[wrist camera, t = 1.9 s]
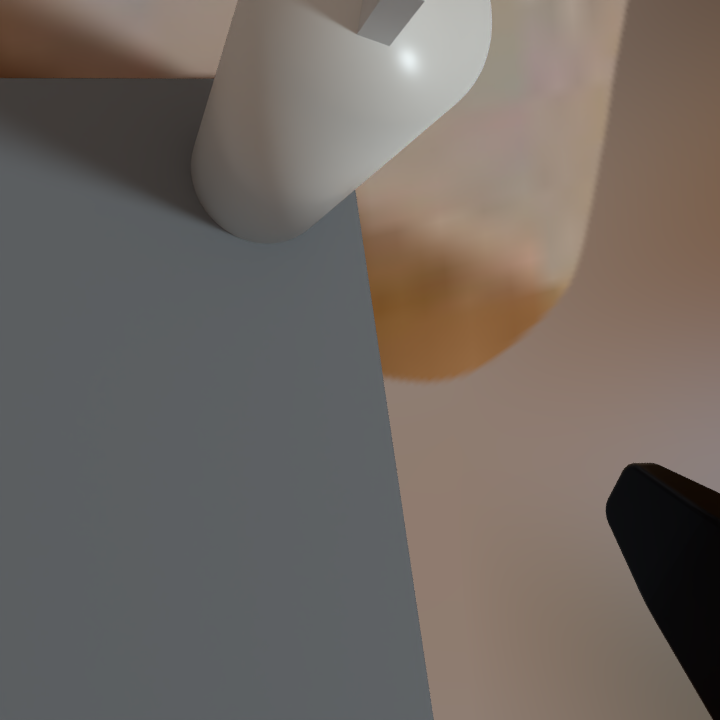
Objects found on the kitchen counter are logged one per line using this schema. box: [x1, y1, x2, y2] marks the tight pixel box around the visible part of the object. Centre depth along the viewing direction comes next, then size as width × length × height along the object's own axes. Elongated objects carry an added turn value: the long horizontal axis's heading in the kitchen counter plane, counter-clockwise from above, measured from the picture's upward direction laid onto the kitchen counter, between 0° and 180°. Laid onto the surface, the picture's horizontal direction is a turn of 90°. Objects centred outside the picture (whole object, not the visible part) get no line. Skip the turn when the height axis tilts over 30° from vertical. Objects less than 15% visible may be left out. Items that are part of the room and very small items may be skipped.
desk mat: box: [0, 78, 434, 720], centre depth 19 cm, size 22×18×1 cm
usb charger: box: [191, 0, 492, 244], centre depth 15 cm, size 4×4×11 cm
